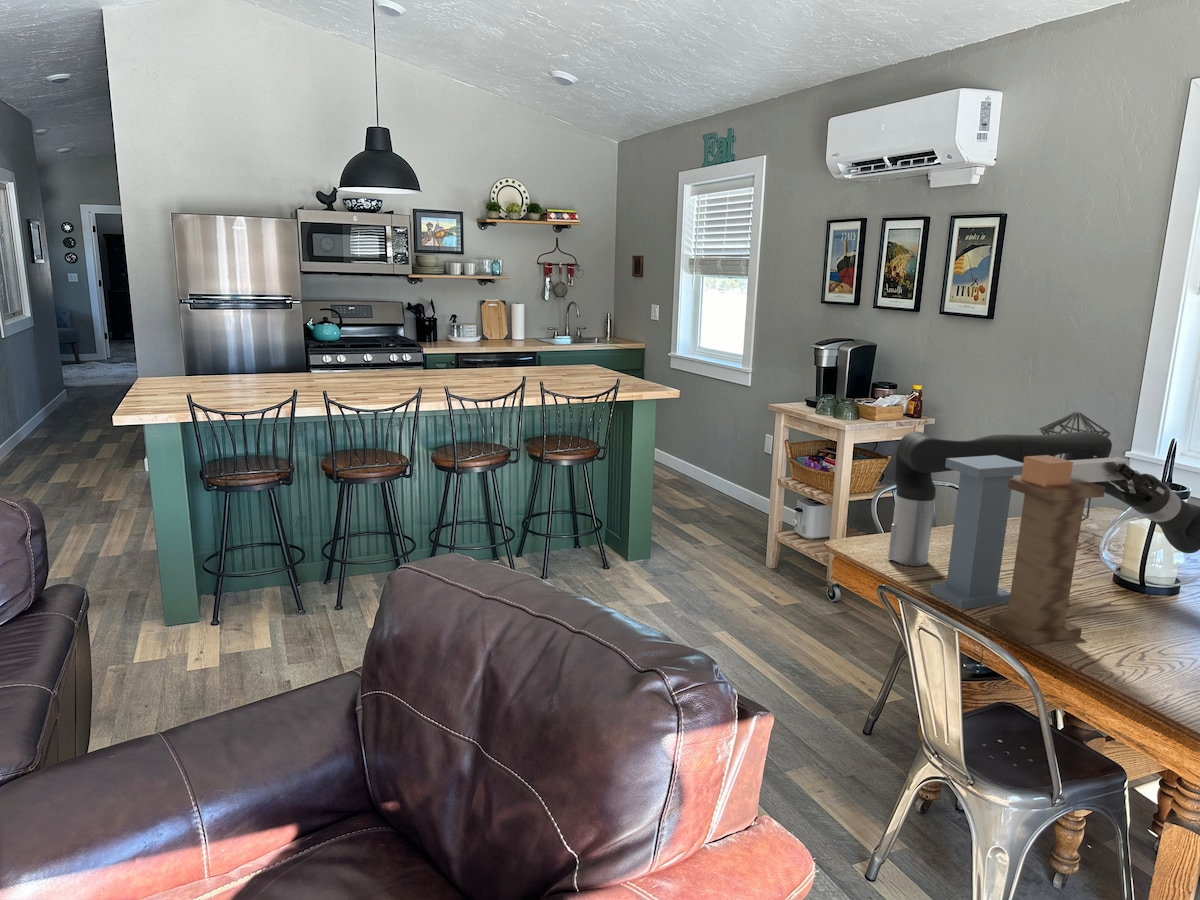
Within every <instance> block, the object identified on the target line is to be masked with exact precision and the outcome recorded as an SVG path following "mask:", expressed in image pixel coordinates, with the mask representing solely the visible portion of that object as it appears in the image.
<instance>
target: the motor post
mask: <svg viewBox="0 0 1200 900" xmlns="http://www.w3.org/2000/svg"><path fill="white" fill-rule="evenodd" d="M945 467H946V468H949V469H952V470H954V471H956V472H958V473H959V482H958V489H957V496H956V503H955V504H956V505H955V513H954V521H953V529H952V537H951V545H950V554H949V562H948V569H947V576H946V577H947V578H946V582H945V581H944V582H939V583H931V584H930V592H929V593H931V594H932V595H934V596H936V597H938V598H940V599H941V600H943V601H945V602H947V603H949V604H951V605H952V606H954V607H956V608H958V609H959V610H967V609H969V610H970V609H975V608H983V607H989V606H997V605H1004V604H1009V601H1010V594H1011V592H1009V591H1006V590H1005V589H1003V588H1001V587H999V582H1000V576H1001V575H1000V574H1001V567H1002V561H1003V555H1004V547H1005V545H1004V544H1005V540H1006V539H1005V538H1006V531H1007V526H1008V517H1009V510H1010V504H1011V497H1012V491H1013V490H1012V489H1009V488H1008V484H1009V479H1011V478H1014V476H1022V470H1023V463H1021V462H1018V461H1015V460H1011V459H1008V458H1004V457H1001V456H997V455H991V456H975V457H960V458H946V464H945Z"/></svg>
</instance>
